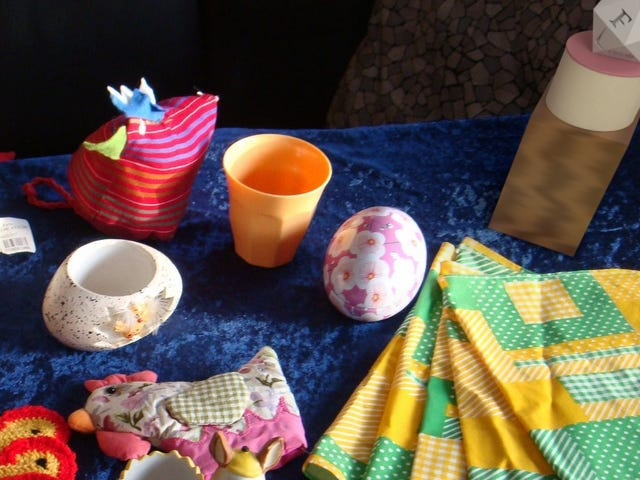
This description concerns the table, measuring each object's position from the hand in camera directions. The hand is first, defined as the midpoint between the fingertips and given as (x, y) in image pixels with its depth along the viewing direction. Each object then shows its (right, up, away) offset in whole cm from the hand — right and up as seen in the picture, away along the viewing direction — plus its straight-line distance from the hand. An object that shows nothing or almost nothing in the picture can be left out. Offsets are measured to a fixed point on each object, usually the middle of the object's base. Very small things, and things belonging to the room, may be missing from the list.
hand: (638, 10), depth 88 cm
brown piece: (0, -18, +24) cm, 30 cm away
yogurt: (0, -7, +11) cm, 13 cm away
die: (+1, -2, +6) cm, 6 cm away
